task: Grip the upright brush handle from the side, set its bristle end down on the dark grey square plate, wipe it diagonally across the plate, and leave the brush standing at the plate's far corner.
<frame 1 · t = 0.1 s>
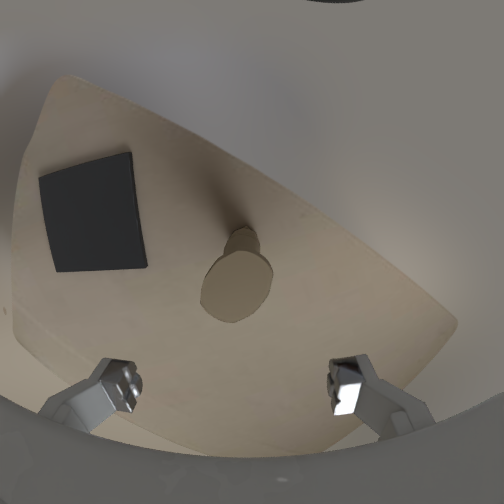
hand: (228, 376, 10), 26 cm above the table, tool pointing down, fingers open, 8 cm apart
handle: (244, 237, 36), on the table
dark grey square plate: (87, 217, 35), on the table
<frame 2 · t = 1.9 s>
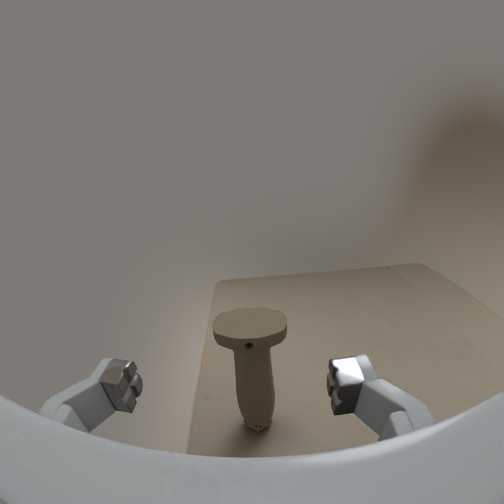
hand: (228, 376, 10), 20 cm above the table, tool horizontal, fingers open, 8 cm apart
handle: (258, 423, 28), on the table
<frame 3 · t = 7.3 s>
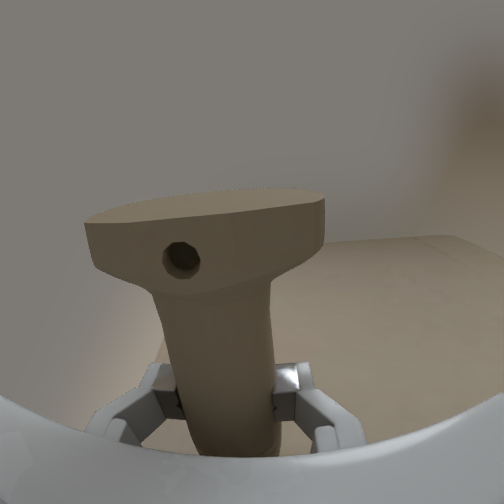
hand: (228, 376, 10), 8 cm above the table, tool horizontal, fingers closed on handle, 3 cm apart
handle: (246, 475, 12), on the table, touching gripper
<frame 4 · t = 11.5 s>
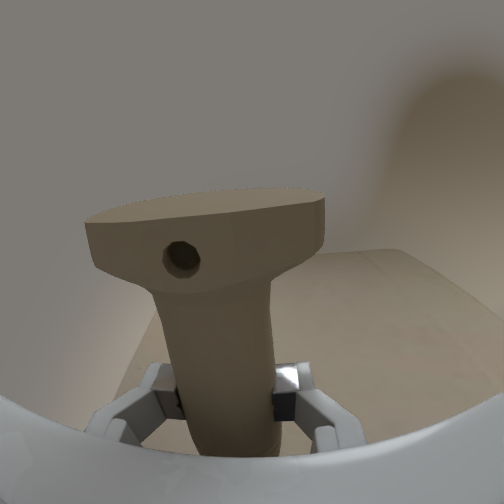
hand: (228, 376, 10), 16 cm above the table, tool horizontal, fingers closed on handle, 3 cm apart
handle: (246, 475, 12), point 7 cm above the table, touching gripper
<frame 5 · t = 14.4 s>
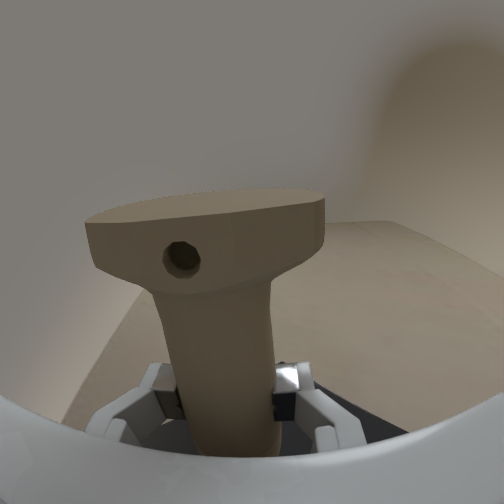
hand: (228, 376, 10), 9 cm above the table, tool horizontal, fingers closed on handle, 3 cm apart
handle: (246, 475, 12), point 1 cm above the table, touching gripper
dark grey square plate: (286, 492, 11), on the table
when the fingers open (9 cm above the table, at t = 16.2 s): handle stays where it is, resting on dark grey square plate.
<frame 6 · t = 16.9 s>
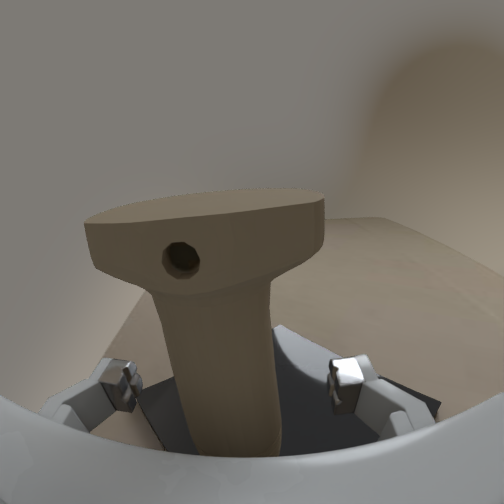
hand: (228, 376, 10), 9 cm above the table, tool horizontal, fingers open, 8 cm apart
handle: (246, 475, 12), point 1 cm above the table, touching dark grey square plate
dark grey square plate: (284, 423, 17), on the table
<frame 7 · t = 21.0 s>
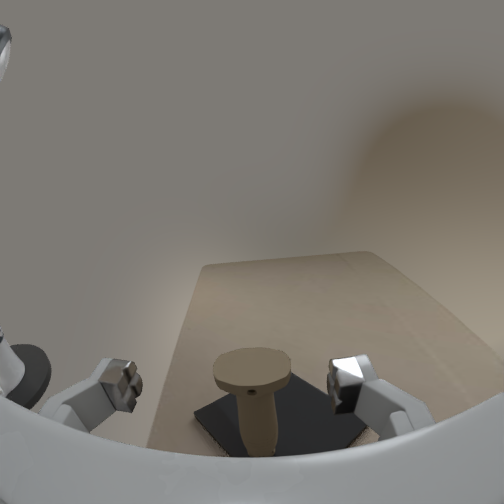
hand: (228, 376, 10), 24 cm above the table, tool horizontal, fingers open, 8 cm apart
handle: (261, 452, 26), point 1 cm above the table, touching dark grey square plate
dark grey square plate: (280, 425, 30), on the table
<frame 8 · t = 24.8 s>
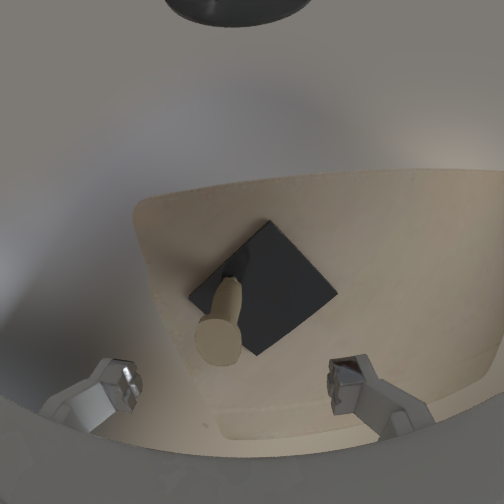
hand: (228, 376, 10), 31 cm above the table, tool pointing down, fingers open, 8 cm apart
handle: (231, 284, 42), point 1 cm above the table, touching dark grey square plate
dark grey square plate: (263, 294, 43), on the table
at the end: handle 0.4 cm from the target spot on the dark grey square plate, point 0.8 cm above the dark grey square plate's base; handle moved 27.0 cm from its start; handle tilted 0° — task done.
